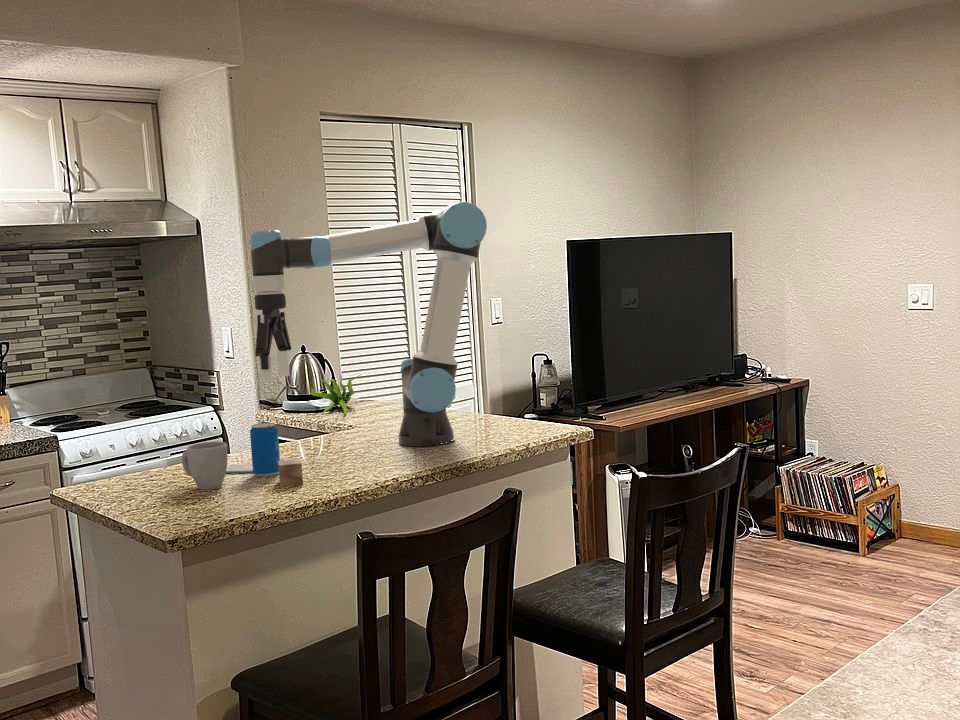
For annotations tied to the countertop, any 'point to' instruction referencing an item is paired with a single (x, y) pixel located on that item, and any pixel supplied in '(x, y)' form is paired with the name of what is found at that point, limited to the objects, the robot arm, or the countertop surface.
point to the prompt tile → (240, 469)
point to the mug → (206, 464)
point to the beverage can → (265, 449)
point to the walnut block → (290, 472)
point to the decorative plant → (336, 394)
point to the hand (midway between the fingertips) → (275, 379)
